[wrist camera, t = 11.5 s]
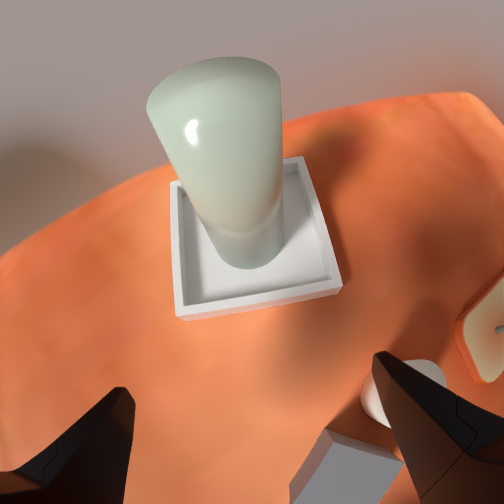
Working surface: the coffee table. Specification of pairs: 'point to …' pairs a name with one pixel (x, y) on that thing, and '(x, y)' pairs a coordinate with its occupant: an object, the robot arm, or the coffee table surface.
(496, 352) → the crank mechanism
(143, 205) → the coffee table surface
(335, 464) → the grey block
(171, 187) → the white tray
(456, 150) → the coffee table surface
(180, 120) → the pale green cylinder
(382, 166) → the coffee table surface
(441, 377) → the white rounded cylinder
